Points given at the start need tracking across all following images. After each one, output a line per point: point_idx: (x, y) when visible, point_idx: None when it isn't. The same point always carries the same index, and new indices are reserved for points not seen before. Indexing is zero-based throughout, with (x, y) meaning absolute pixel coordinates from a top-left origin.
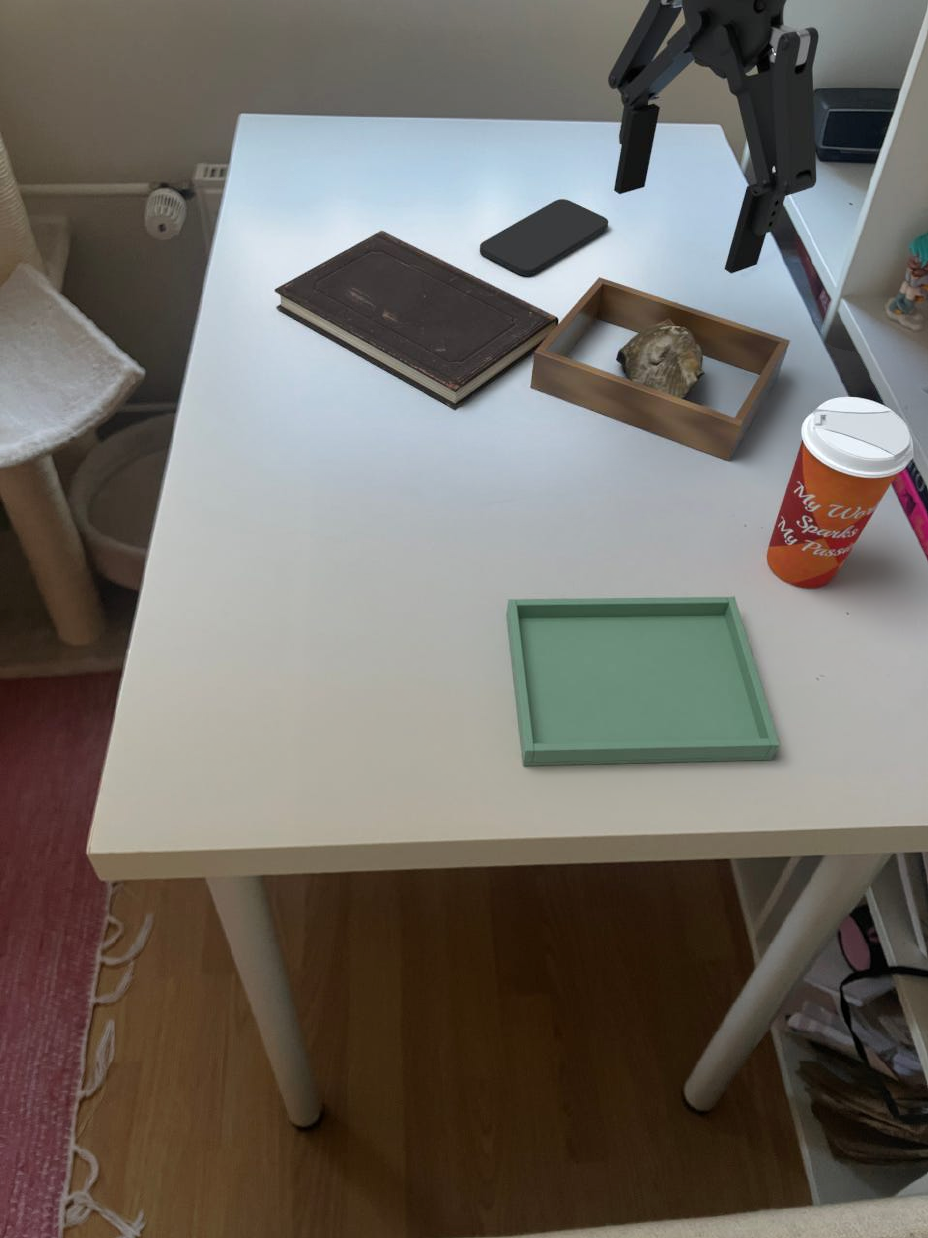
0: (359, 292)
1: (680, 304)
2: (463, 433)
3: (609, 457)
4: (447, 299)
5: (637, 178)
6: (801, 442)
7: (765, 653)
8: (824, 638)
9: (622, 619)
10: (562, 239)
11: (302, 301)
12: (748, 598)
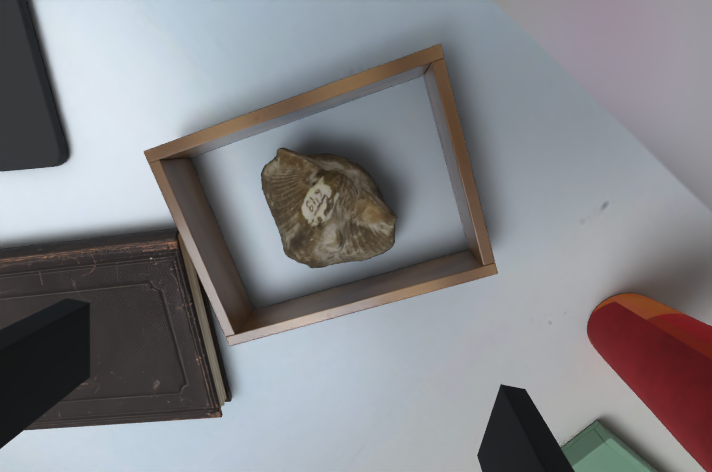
0: None
1: (266, 109)
2: (264, 415)
3: (384, 342)
4: None
5: (64, 346)
6: (704, 463)
7: (646, 432)
8: None
9: None
10: (12, 55)
11: None
12: (602, 394)
